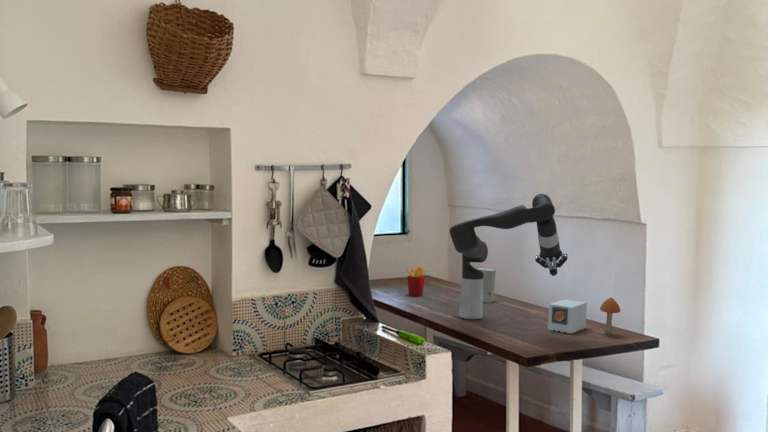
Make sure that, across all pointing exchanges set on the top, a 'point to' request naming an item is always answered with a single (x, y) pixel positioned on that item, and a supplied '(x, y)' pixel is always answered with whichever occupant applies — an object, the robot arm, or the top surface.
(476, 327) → the top surface
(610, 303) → the mushroom
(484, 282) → the skincare box
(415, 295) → the french fries
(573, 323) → the block
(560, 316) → the peg
